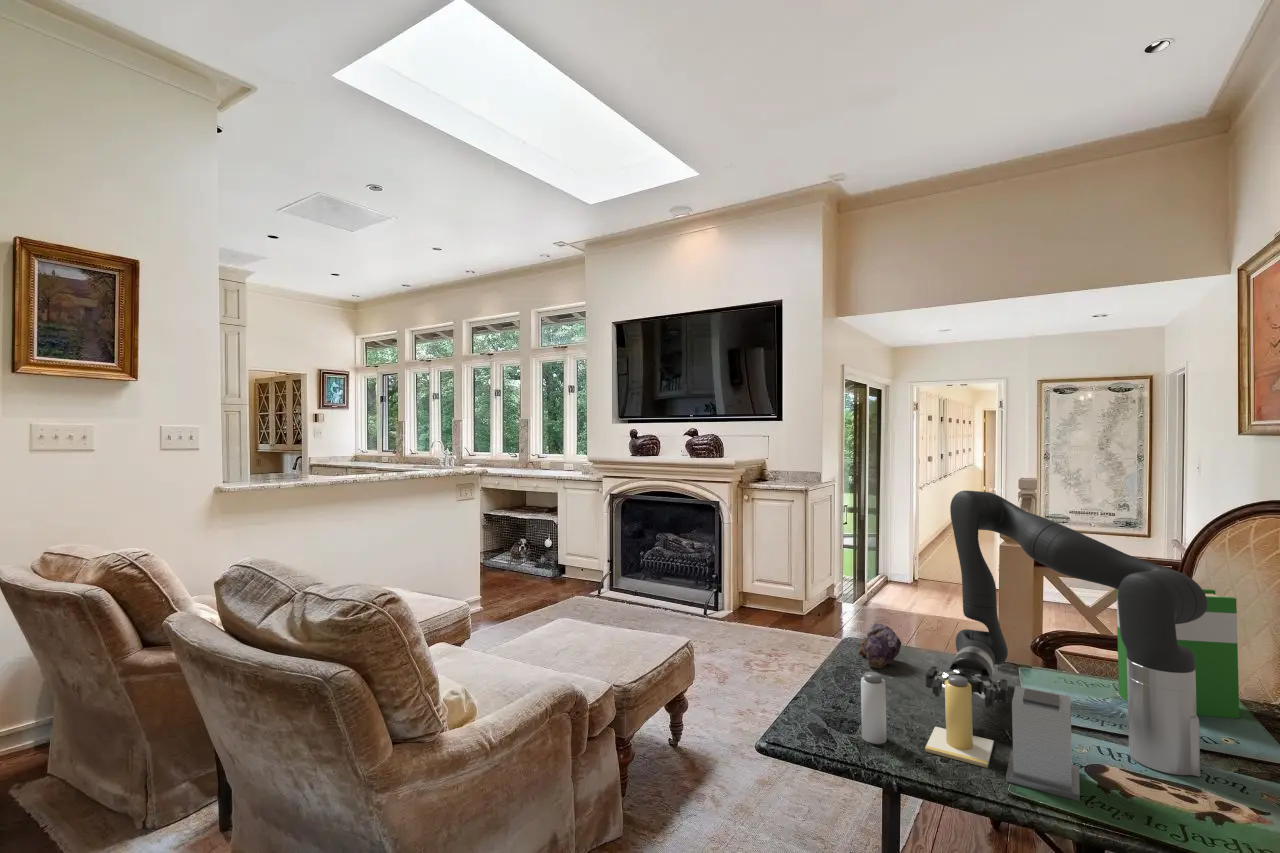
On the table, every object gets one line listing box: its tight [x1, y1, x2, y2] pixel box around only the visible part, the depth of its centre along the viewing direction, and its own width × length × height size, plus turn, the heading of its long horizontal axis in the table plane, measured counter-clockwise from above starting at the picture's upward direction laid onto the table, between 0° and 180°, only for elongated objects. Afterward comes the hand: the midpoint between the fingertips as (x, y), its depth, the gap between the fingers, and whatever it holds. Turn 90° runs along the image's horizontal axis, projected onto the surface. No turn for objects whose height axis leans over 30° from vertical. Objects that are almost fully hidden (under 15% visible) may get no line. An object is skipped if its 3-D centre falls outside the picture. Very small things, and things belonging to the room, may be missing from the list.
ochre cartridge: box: [944, 675, 974, 750], centre depth 114 cm, size 4×4×12 cm
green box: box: [1115, 588, 1240, 719], centre depth 130 cm, size 18×7×24 cm, turn 75°
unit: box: [1005, 685, 1081, 802], centre depth 104 cm, size 10×10×13 cm
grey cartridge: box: [860, 671, 887, 745], centre depth 118 cm, size 4×4×12 cm
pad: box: [924, 726, 995, 769], centre depth 114 cm, size 10×10×1 cm
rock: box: [858, 622, 902, 669], centre depth 156 cm, size 12×9×10 cm
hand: (961, 697), depth 116 cm, fingers open, 8 cm apart
